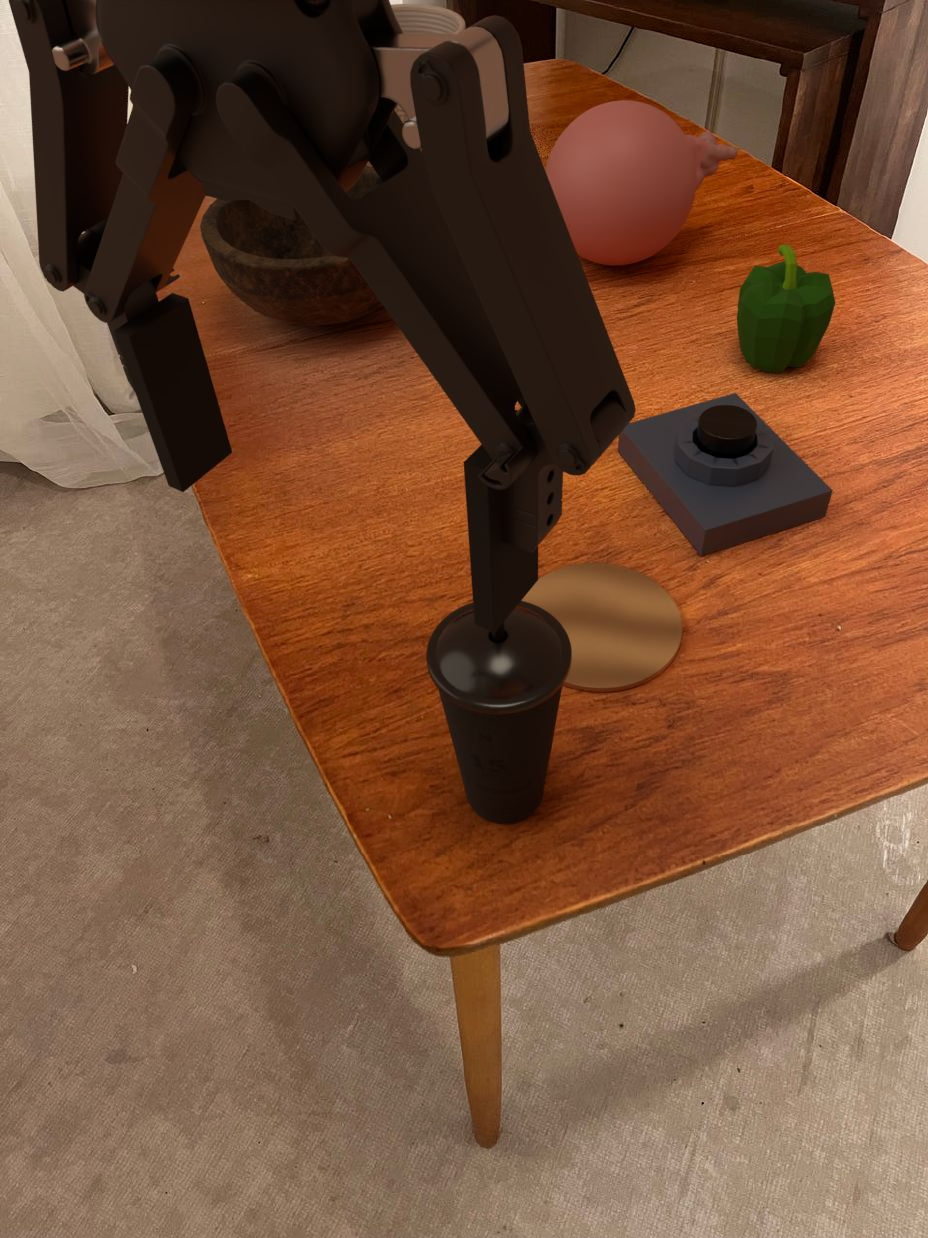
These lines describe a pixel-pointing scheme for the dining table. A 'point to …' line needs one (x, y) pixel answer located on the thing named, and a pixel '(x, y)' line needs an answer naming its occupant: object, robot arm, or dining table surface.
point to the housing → (722, 479)
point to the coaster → (611, 624)
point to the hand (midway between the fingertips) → (342, 531)
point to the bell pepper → (783, 314)
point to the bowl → (286, 263)
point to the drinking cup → (501, 704)
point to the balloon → (628, 179)
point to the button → (726, 431)
